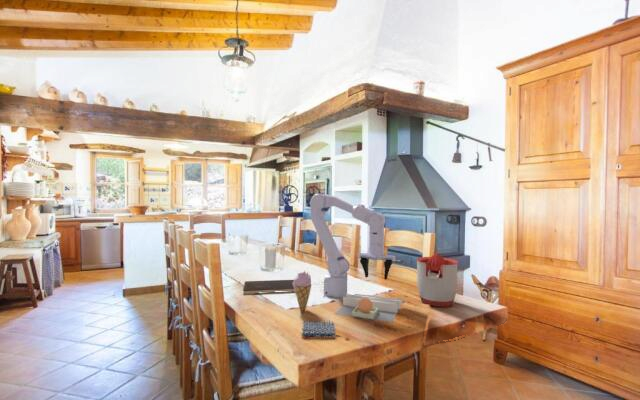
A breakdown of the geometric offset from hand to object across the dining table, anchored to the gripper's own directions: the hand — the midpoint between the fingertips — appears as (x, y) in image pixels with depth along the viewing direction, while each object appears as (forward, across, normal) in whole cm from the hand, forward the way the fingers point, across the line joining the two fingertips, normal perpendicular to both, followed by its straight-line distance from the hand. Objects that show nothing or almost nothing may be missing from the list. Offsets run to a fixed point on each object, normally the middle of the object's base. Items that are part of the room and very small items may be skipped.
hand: (376, 277), depth 128 cm
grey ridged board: (+10, 0, -8) cm, 13 cm away
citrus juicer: (+10, +22, +10) cm, 26 cm away
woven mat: (+10, -9, -35) cm, 38 cm away
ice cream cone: (+10, -22, -22) cm, 33 cm away
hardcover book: (+11, -49, 0) cm, 50 cm away
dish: (+9, 0, -17) cm, 19 cm away
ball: (+6, 0, -17) cm, 18 cm away
